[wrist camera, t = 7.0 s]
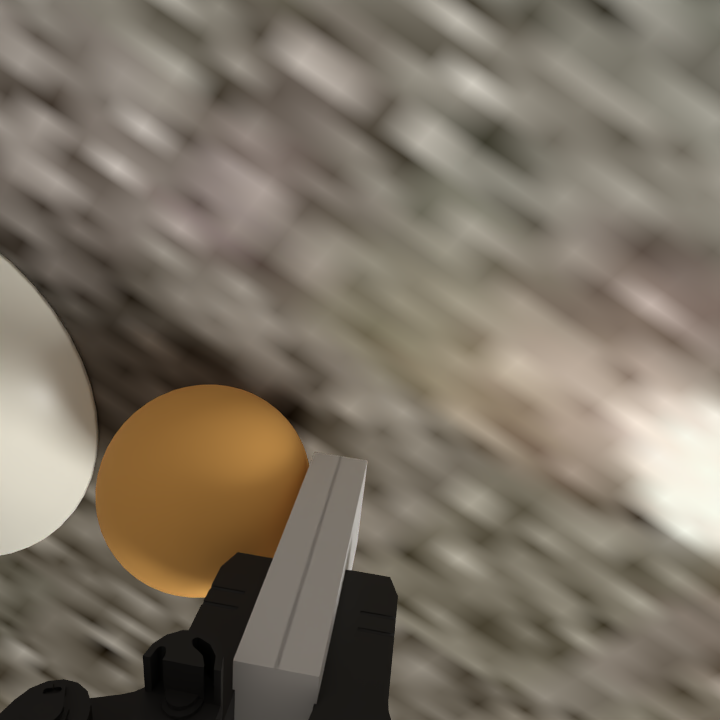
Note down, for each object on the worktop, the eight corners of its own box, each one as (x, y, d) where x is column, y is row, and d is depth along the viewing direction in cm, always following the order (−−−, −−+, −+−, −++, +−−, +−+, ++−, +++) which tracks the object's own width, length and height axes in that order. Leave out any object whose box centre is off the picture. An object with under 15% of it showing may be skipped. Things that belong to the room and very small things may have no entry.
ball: (298, 575, 18) (107, 617, 16) (272, 407, 20) (96, 425, 18) (356, 568, 13) (94, 626, 11) (315, 347, 15) (80, 362, 13)
